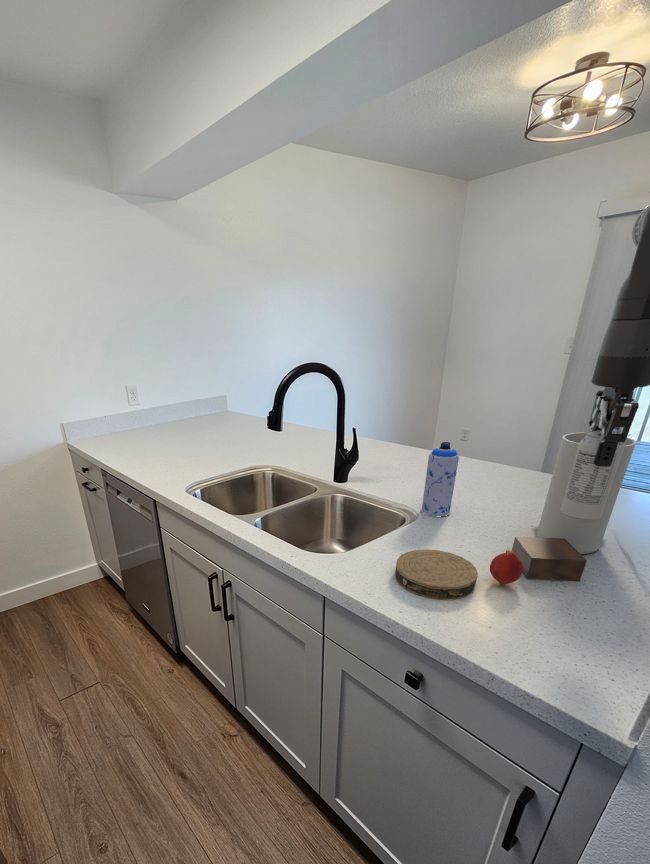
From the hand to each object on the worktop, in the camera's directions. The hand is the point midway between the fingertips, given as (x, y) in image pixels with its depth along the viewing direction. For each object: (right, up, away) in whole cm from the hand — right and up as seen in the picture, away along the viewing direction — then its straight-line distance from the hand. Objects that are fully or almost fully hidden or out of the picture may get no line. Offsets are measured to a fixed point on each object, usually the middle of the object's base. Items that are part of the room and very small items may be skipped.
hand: (597, 459), depth 73 cm
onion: (-6, -23, +17) cm, 29 cm away
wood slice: (-19, -22, +20) cm, 35 cm away
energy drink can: (+1, -10, +5) cm, 11 cm away
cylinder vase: (+18, -14, +31) cm, 38 cm away
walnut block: (+6, -20, +21) cm, 30 cm away
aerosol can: (-5, -6, +51) cm, 52 cm away
